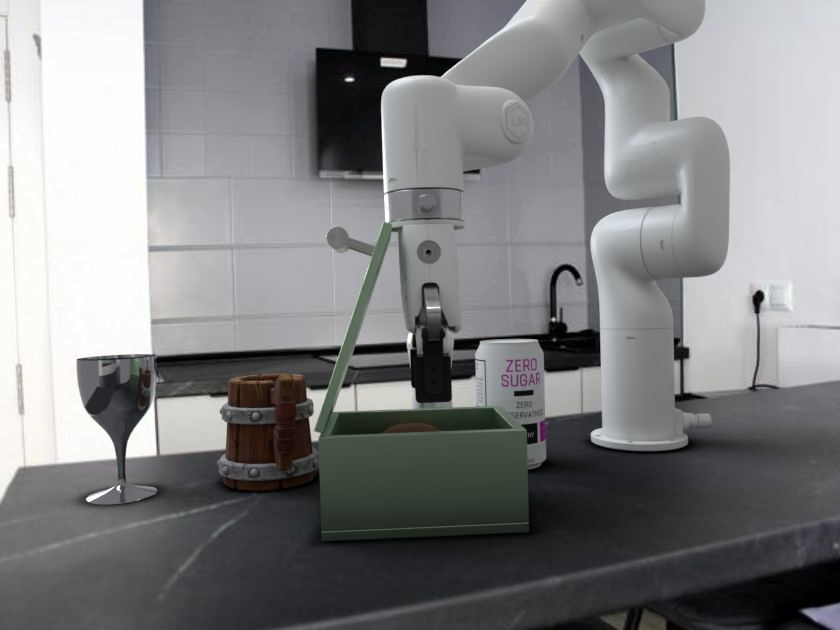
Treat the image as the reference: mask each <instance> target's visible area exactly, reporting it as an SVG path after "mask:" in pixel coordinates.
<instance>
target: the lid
mask: <svg viewBox="0 0 840 630" xmlns="http://www.w3.org/2000/svg"><path fill="white" fill-rule="evenodd" d="M391 231H392V224H390V223H387V222H385V221H383V222H382V224H381V228H380V230H379V233H378V237H377V239H376V242H375V245H373V244H370V243H368V242H364V241H361V240H359V239H356V238H353V237H351V236H350V235H349V232H348V231H347V230H346V229H345V228H344V227H343V226H339V225H335V226H332V227H330V228H329V229H328V230H327V233H326V234H325V235H326V236H325V240H326V242H327V244H328V245H329V247H331V249H332V250H333V251H334V252H336V253H339V254H344V253H347V252H348V251H349V250H351V251H353V252H356V253H360V254H362V255H365V256H369V257H371V258H370V261H369V263H368V267H367V268H366V269H367V270H366V273H365V275H364V278H363V282H362V285H361V287H360V290H359V294H358V297H357V300H356V302H355V306H354V308H353V312H352V314H351V318H350V321H349V324H348V326H347V330H346V333H345V336H344V339H343V342H342V344H341V348H340V351H339V353H338V357H337V360H336V362H335V366H334V368H333V371H332V375H331V378H330V381H329V384H328V386H327V389H326V393H325V395H324V399H323V402H322V405H321V407H320V410H319V413H318V417H317V420H316V423H315V425H314V429H313V431H314V432H316V433H319V434H321V433H323V432H324V430H325V428H326V425H327V423H328V421H329V419H330V417H331V414H332V412H334V410H335V408H336V405H337V402H338V399H339V396H340V392H341V389H342V387H343V383H344V380H345V377H346V375H347V371H348V369H349V365H350V362H351V360H352V356H353V354H354V350H355V348H356V344H357V341H358V338H359V335H360V332H361V329H362V327H363V323H364V321H365V318H366V315H367V312H368V308H369V305H370V302H371V299H372V296H373V294H374V291H375V288H376V285H377V281H378V278H379V276H380V272H381V269H382V267H383V264H384V261H385V258H386V254H387V252H388V248H389V246H390V242H391V240H392V232H391Z"/></svg>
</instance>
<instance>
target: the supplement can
mask: <svg viewBox="0 0 840 630" xmlns="http://www.w3.org/2000/svg"><path fill="white" fill-rule="evenodd" d="M474 364H475V393H476V394H475V397H476V398H475V399H476V407H481V406H501V407H502V408H503V409H504V410H505V411H506V412H507V413H508V414H509V415H510V416H512V417H513V418H514V419H515V420H516V421H517V422H518V423H519V424H520V425H521V426H523V427H524V428H525V429H526V430H527V464H528V470H533V469H536V468H539V467H541V465H542V464H543V463H544V462H545V461H546V459H547V435H546V434H547V433H546V432H547V431H546V429H547V427H546V391H545V389H546V388H545V355H544V351H543V348H542V347H541V345H540V343H539V340H538V339H534V338H533V339H532V338H503V339H501V338H500V339H485V340H480V341H479V346H478V348H477V349H476V350H475V353H474Z"/></svg>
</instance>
